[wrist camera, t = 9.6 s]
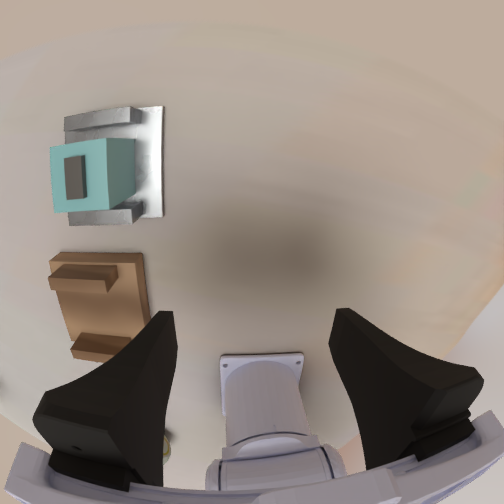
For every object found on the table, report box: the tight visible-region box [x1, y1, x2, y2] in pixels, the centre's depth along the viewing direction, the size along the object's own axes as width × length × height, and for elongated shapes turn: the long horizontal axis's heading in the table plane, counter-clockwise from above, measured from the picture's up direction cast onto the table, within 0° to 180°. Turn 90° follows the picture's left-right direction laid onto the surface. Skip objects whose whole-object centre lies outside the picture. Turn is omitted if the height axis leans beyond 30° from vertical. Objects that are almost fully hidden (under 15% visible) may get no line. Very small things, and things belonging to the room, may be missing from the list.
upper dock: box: [48, 252, 151, 363], centre depth 20 cm, size 8×8×4 cm
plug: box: [50, 138, 136, 213], centre depth 16 cm, size 4×4×6 cm
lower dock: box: [64, 106, 164, 226], centre depth 17 cm, size 8×8×3 cm
